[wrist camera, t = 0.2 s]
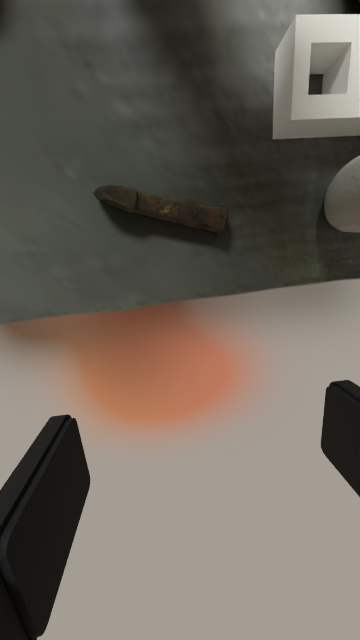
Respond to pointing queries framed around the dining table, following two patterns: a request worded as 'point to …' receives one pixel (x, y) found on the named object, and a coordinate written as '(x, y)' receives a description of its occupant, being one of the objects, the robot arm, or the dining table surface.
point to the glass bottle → (344, 198)
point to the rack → (318, 58)
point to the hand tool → (165, 208)
